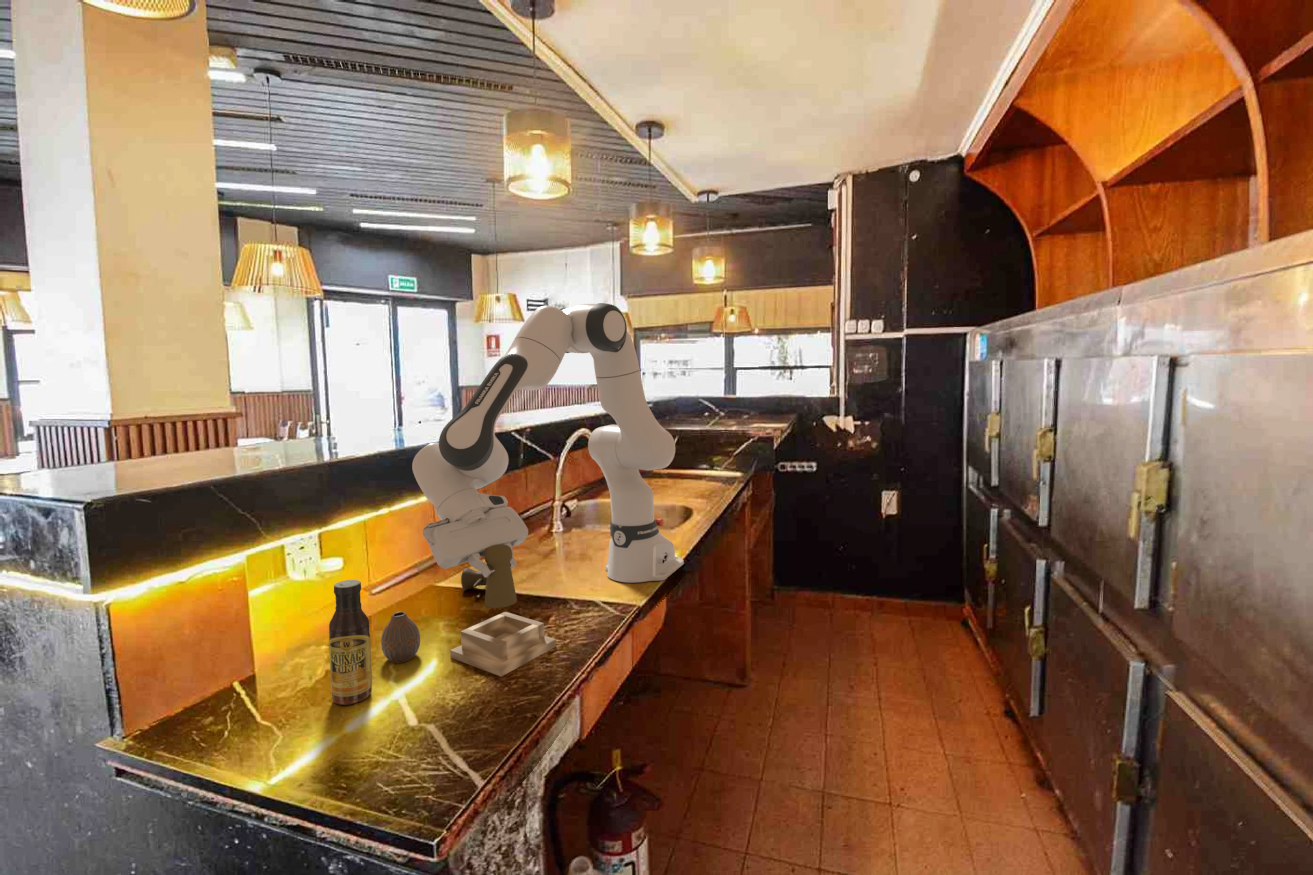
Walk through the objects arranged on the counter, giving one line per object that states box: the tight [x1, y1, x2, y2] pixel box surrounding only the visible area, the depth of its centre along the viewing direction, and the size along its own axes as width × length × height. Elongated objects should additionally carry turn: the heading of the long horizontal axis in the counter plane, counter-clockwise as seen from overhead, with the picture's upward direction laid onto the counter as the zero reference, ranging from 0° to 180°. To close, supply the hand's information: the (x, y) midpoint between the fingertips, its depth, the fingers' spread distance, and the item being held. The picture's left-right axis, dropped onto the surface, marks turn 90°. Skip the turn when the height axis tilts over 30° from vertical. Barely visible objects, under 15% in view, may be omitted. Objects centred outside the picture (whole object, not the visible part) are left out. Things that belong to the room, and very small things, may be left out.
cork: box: [483, 544, 518, 609], centre depth 119 cm, size 6×6×11 cm
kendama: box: [460, 563, 488, 591], centre depth 159 cm, size 6×10×20 cm
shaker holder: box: [449, 611, 557, 678], centre depth 120 cm, size 14×14×5 cm
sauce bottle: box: [328, 579, 373, 706], centre depth 104 cm, size 6×6×20 cm
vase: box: [380, 611, 421, 664], centre depth 119 cm, size 7×7×9 cm
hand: (501, 570), depth 118 cm, fingers closed on cork, 4 cm apart
